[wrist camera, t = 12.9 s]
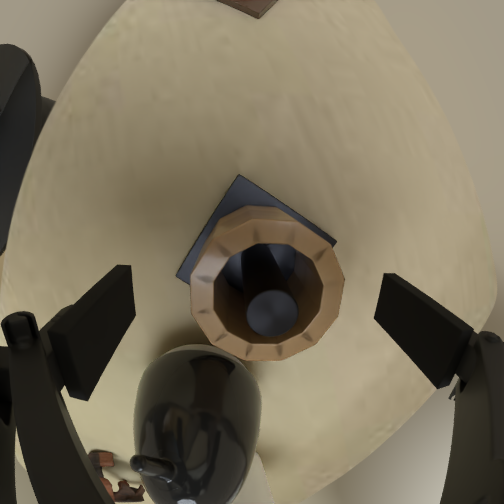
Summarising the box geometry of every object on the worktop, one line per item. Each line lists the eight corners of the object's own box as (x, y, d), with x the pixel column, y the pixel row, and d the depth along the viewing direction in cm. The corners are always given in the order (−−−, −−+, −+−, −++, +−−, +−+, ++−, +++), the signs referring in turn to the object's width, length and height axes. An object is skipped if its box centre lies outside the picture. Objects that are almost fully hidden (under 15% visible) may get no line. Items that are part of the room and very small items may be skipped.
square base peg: (177, 272, 22) (140, 338, 12) (238, 174, 20) (242, 168, 11) (270, 325, 24) (291, 408, 14) (333, 238, 22) (398, 281, 12)
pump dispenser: (231, 308, 23) (233, 471, 8) (271, 392, 26) (297, 527, 11) (129, 341, 23) (63, 473, 9) (181, 415, 26) (163, 537, 11)
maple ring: (184, 275, 21) (164, 318, 14) (242, 184, 20) (246, 186, 13) (271, 324, 23) (285, 379, 16) (330, 244, 21) (370, 273, 14)
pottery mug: (127, 449, 28) (140, 502, 22) (144, 458, 34) (156, 500, 29) (56, 449, 25) (64, 499, 19) (82, 460, 31) (90, 501, 25)
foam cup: (220, 432, 27) (220, 530, 14) (286, 450, 29) (303, 535, 16) (188, 464, 29) (181, 543, 16) (247, 480, 30) (253, 552, 18)
